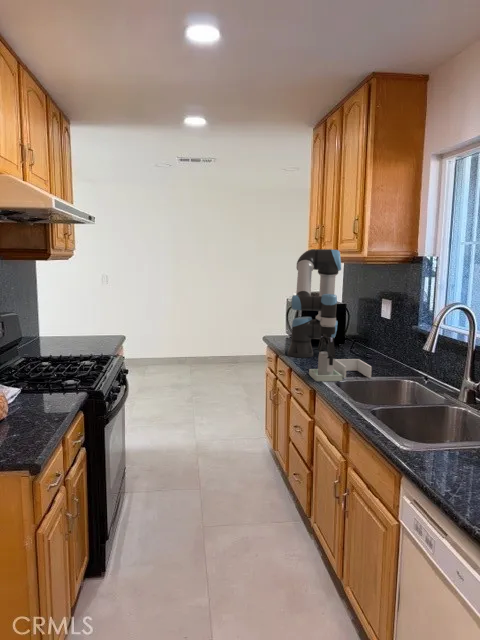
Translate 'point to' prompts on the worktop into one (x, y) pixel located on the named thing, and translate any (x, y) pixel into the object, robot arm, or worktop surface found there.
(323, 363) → the can
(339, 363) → the bay
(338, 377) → the tray
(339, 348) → the worktop surface
